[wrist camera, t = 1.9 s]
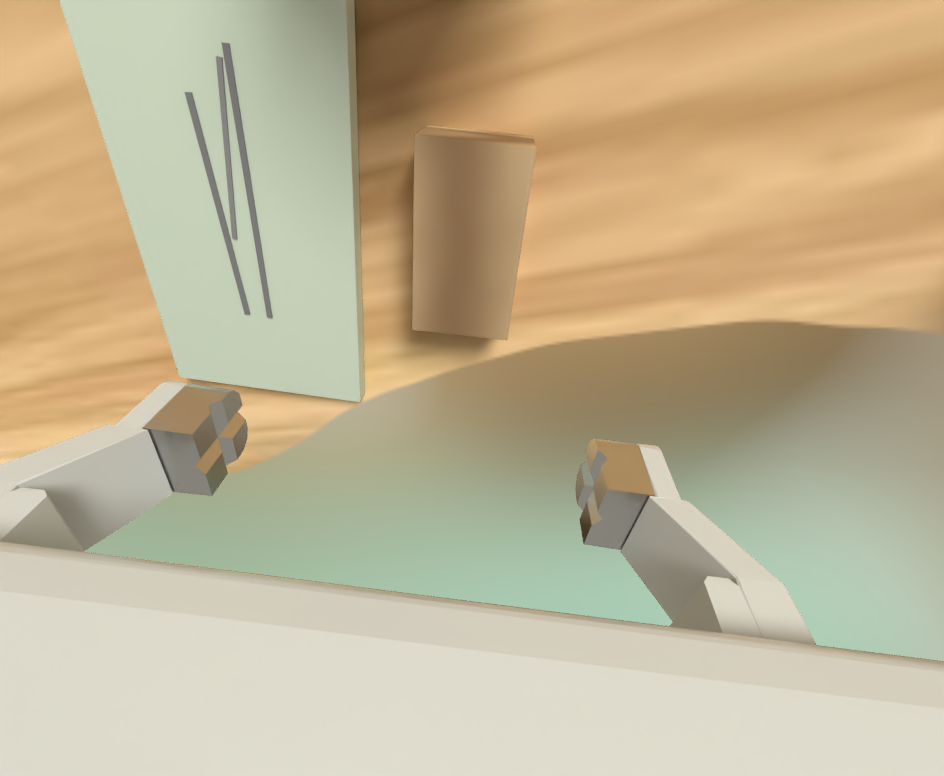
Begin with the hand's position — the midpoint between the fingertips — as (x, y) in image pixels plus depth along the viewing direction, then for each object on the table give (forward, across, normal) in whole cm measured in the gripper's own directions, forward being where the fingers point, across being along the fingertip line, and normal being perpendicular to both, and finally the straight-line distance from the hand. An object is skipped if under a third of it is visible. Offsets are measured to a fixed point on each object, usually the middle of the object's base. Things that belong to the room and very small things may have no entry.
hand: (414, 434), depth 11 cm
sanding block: (+17, 0, 0) cm, 17 cm away
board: (+17, +12, 0) cm, 20 cm away
